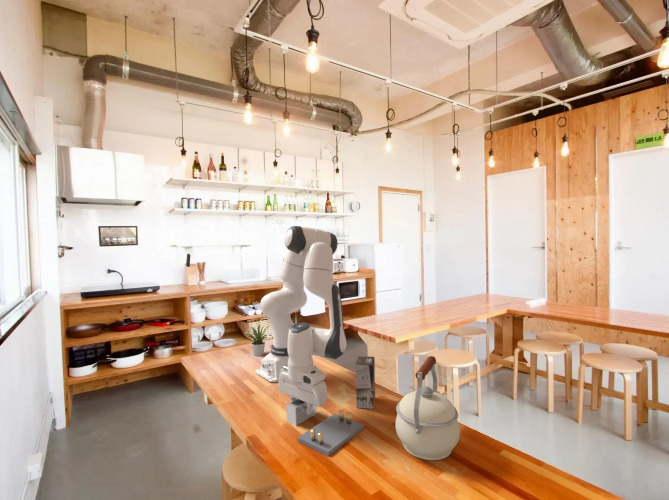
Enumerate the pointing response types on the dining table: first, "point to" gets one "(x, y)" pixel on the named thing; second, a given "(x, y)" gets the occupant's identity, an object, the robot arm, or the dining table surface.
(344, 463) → the dining table surface
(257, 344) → the house plant
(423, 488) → the dining table surface
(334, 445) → the pin tray
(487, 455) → the dining table surface
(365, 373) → the coffee box
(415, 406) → the kettle
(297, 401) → the block
